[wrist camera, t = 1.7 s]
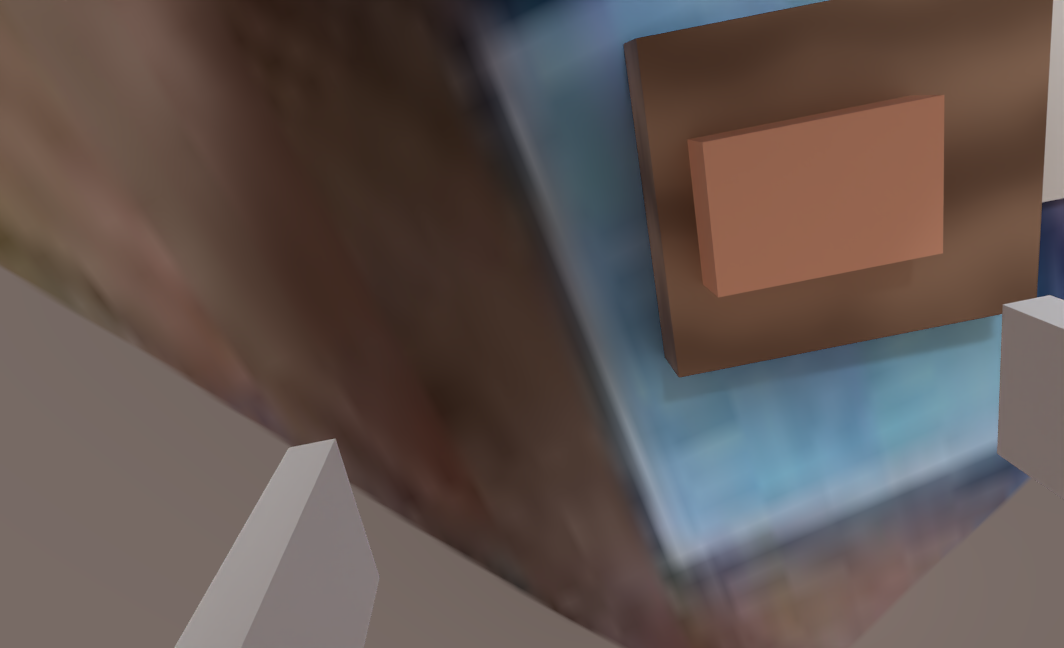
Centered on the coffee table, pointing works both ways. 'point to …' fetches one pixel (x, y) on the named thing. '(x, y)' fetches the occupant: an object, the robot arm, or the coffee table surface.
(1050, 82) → the mat
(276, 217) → the coffee table surface
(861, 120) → the salmon flat rectangular block
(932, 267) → the board
